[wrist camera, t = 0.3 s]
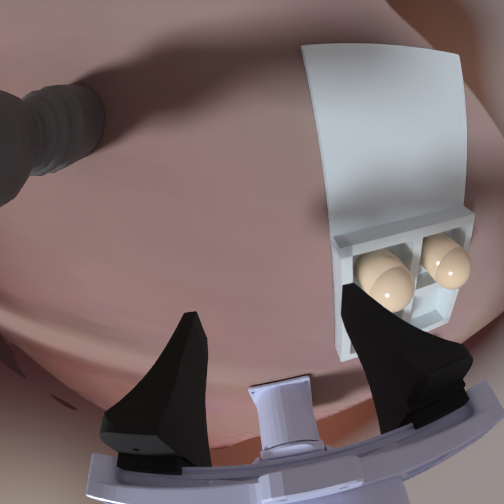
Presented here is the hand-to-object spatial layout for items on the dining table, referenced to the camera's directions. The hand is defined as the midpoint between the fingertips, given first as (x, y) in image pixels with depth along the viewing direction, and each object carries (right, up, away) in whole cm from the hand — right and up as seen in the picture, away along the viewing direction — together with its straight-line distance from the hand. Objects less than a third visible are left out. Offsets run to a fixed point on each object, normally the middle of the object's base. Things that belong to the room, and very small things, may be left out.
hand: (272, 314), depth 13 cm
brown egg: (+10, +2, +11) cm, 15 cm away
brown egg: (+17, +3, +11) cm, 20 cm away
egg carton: (+13, +6, +9) cm, 17 cm away
